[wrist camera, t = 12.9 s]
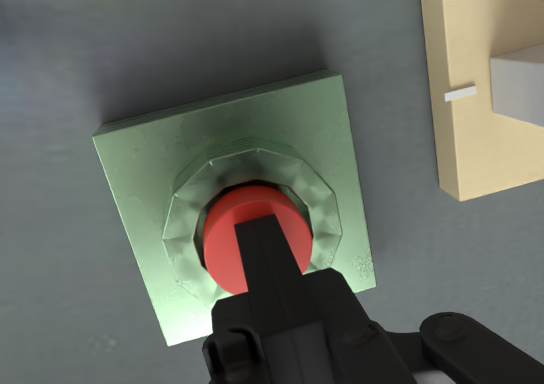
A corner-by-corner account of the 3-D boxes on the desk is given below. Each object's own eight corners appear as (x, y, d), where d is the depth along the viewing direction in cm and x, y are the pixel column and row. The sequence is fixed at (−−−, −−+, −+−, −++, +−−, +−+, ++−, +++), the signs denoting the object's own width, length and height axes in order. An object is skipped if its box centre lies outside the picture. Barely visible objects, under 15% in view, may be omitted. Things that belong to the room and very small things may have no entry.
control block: (327, 68, 21) (357, 78, 18) (361, 265, 25) (392, 308, 21) (100, 125, 21) (81, 147, 17) (169, 319, 24) (165, 374, 20)
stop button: (291, 173, 19) (301, 187, 17) (311, 262, 20) (321, 283, 19) (190, 199, 19) (190, 216, 17) (217, 288, 20) (219, 312, 18)
